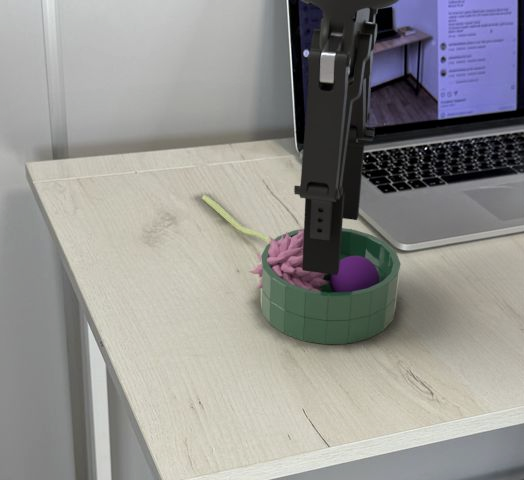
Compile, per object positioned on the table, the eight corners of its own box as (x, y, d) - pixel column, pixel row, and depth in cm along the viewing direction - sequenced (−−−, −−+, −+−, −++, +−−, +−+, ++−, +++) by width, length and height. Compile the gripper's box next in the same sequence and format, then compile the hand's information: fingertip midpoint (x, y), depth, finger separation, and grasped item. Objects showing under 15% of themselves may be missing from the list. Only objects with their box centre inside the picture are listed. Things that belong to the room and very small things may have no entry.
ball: (329, 290, 75) (376, 294, 75) (327, 310, 72) (376, 314, 71) (333, 246, 73) (381, 250, 73) (330, 265, 70) (381, 269, 69)
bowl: (401, 286, 78) (407, 235, 75) (384, 358, 69) (390, 305, 66) (278, 269, 80) (279, 219, 77) (246, 337, 71) (246, 284, 68)
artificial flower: (166, 235, 90) (272, 329, 70) (170, 167, 87) (282, 245, 67) (226, 233, 93) (344, 323, 73) (232, 167, 90) (357, 242, 70)
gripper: (325, -96, 66) (312, 181, 80) (254, -33, 50) (252, 305, 63) (425, -90, 65) (395, 191, 78) (387, -23, 48) (356, 320, 61)
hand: (331, 241), depth 71 cm, fingers open, 8 cm apart
